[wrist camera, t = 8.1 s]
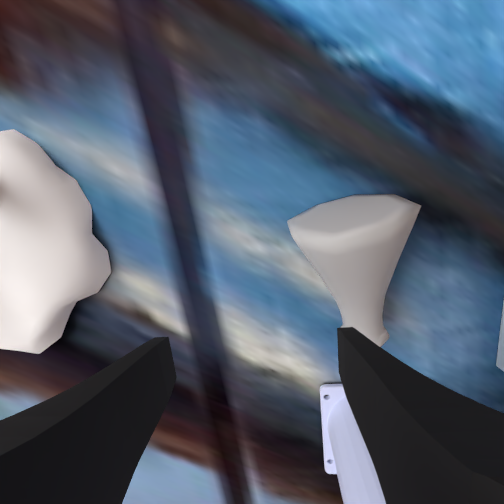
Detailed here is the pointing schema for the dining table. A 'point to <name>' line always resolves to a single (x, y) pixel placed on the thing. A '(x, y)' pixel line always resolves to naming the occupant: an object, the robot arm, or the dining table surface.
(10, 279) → the figurine
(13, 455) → the robot arm
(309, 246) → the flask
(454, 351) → the dining table surface
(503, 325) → the gear board
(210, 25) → the dining table surface
